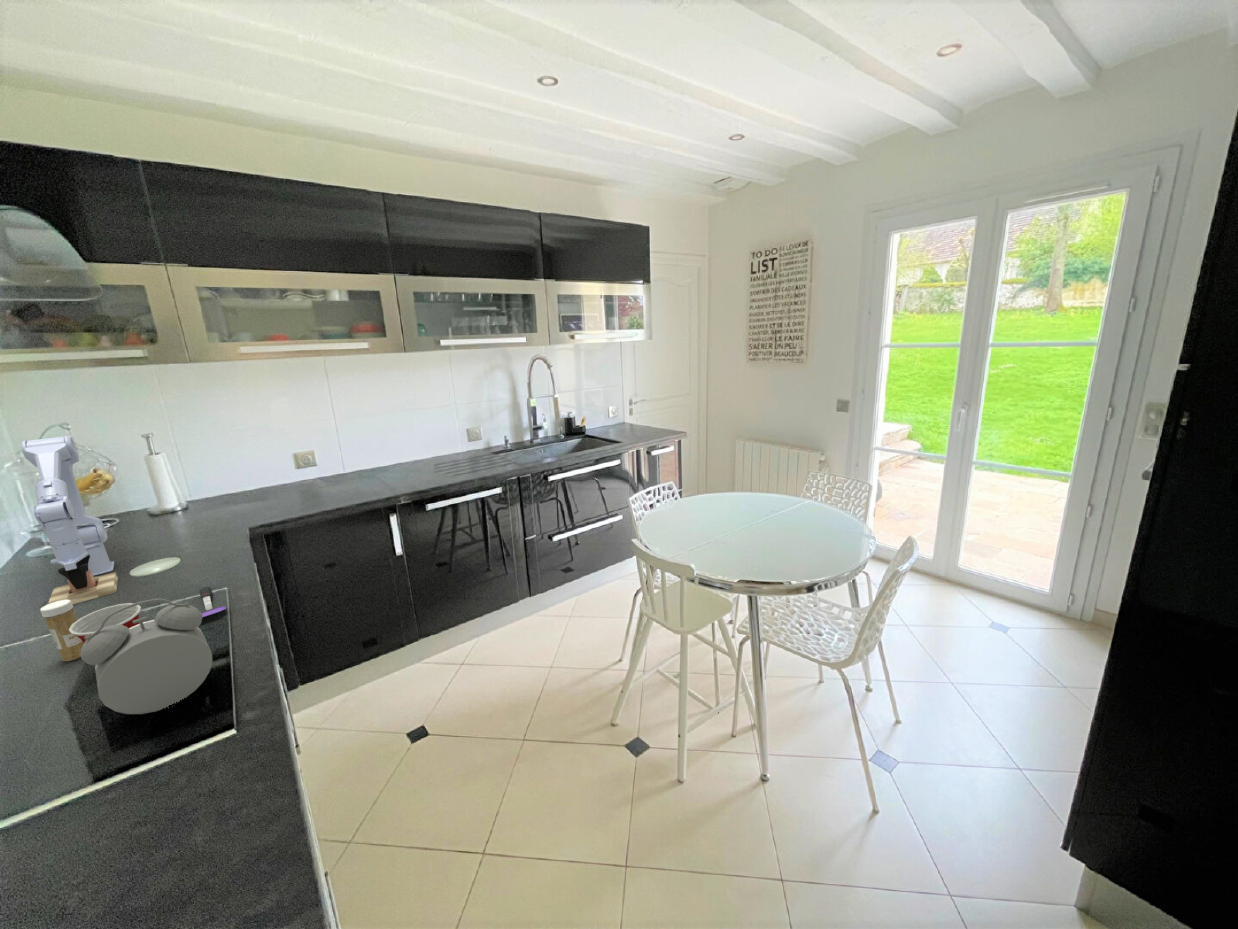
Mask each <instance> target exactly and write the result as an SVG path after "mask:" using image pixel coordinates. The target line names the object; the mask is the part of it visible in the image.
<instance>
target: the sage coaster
mask: <svg viewBox="0 0 1238 929" xmlns="http://www.w3.org/2000/svg"><path fill="white" fill-rule="evenodd" d="M180 563H181V558H179V557H177V556H175V557H165V558H160V559H155V560H152V561H148V562H146V563H143V564H140V565H138V566H136V567H134V568H132V569H131V570H130V571H129V575H130V577H135V578H136V577H137V578H138V577H139V578H140V577H144V576H146V577H147V576H152V575H155V574H159V573H162V572H165V571H167V570H170V569H172V568H174V567H176V566H178V565H180Z"/></svg>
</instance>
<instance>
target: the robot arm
mask: <svg viewBox="0 0 1238 929" xmlns="http://www.w3.org/2000/svg"><path fill="white" fill-rule="evenodd" d="M75 443H76V442H75V441H74V439H73V438H72V436H69V435H64V436H56V437H48V438H39V439H31V440H23V441H22V442H21V443H20V449H21V452H22V454H23V456H24V458H25V460H27V461H28V462H29V463H30V464H32V465H33V466H34V467H35V468H37V471H38V474H39V477H40V481H39V482H37V483H36V484H35V493H36V494H35V495H36V504H37V506H34V507H33V516H34V518H35V519H36V522H37V523H38V524H39V525H40V527H41V530H42V531H44V532H45V533H46V537H47V539H48V541H49V544H50V547H51V549H52V553H53V555H54V557H55V558H53V559H51V560H50V564H51V565H52V564H59V565H62V566H63V567H62V568H58V569H57V572H58V574H60V575H61V576H63V577H64V578H66V579H67V580H69V581H70V582H71V584H72V585H73V586H74V587H75V588H76V589H81V588H85V587H87V576H86V571H90V570H91V571H92V574H93V576H94V577H96V576H99V575H103V574H106V573H109V572H110V573H111V572H113V571H114V567H115V561H111V560H110V558H109V556H108V553H107V551H106V550H107V549H106V548H105V544H104V543H105V542H106V541H107V540H108V533H107V529H106V527H105V525H104V524H103V521H102V519H100V518H99V517H96V516H92V515H88V514H87V513H86V512H87V511H86V510H85V507H84V506H85V505H84V503H83V499H82V497H81V493H80V491H79V490H80V489H79V488H78V484H77V481H76V477H75V474H74V471H73V470H74V469H73V468H74V464H76V463H78V462H80V456H79V452H78V449H77V446H76V444H75ZM83 525H84V526H83Z"/></svg>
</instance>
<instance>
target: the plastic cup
mask: <svg viewBox="0 0 1238 929" xmlns="http://www.w3.org/2000/svg"><path fill="white" fill-rule="evenodd" d="M134 603H135V602H134ZM134 603H132V602H127V603H118V604H115V605H111V606H106V607H103V608H101V609H98V610H95V611H93V612H90V613H88V614H86V615H84V616H82V617H80V618H79V619H77V621H76V622H75V623H73V624H72V625H71V627H70V628H69V631H70V632H71V633H72V634H73V635H76V636H78V638H79V639H81V641H82V642H84V643H85V641H86V639H85V638H84V637H85V636H88V635H90V636H91V635H92V634H93V633H94V632H96V631H97V630H98V629H99V628H100V626H101V624H102V622H103V620H104V619H105V618H106V617H107V616H108V615H109V614H111V613H113V612H115V611H117V610H119V609H121V608H123V607H126V606H128V605H131V604H134ZM141 610H142V606H140V605H136V606H133V607H130V608H128V609H125V610H123V611H121V612H118V613H116V614H114V615H113V616H111V617H110V618H109V619H108V620H107V621H106V622H105V624H104V627H106V626H111V625H116V624H117V625H123V626H126V627H128V628H131V627H133V626H136V625H138V624H140V623H139V622H138V623H135V624H133V621H134V620H137V619H140V612H141ZM104 627H103V628H104Z"/></svg>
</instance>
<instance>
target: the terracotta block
mask: <svg viewBox="0 0 1238 929" xmlns="http://www.w3.org/2000/svg"><path fill="white" fill-rule="evenodd" d="M86 576H87V587H85V588H81V589H76V588H75V587H74V586H73V585H72V584H71V582H70V581H69V580H68V579H67V585H68V584H69V587H70V589H71V592H72V593H74V592H78V591H81V590H85V589H89V588H92V587H96V586H97V584H96V582H95V579H94V578H95V576H93V574H92V571H91V570H90V571H86Z"/></svg>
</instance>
